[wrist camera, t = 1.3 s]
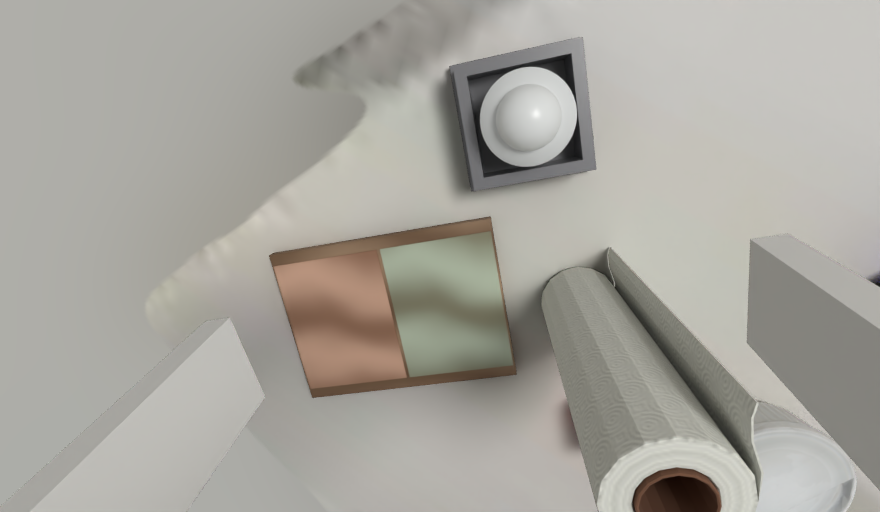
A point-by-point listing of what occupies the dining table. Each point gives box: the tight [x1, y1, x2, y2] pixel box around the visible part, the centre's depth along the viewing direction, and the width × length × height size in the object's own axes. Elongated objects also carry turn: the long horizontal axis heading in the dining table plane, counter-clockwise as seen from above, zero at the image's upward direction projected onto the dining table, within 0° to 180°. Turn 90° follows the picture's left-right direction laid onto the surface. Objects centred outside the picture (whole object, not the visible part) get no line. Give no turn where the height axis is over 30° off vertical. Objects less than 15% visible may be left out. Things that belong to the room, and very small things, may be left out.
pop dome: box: [480, 67, 577, 167], centre depth 29 cm, size 6×6×5 cm
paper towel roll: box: [541, 247, 764, 512], centre depth 28 cm, size 7×6×21 cm
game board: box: [269, 217, 517, 398], centre depth 40 cm, size 14×19×1 cm
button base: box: [449, 37, 596, 191], centre depth 32 cm, size 9×9×4 cm
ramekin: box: [754, 402, 857, 512], centre depth 38 cm, size 11×11×5 cm
